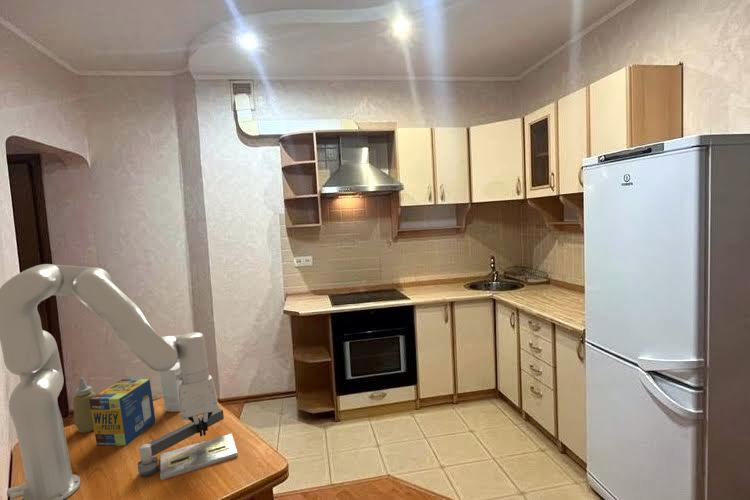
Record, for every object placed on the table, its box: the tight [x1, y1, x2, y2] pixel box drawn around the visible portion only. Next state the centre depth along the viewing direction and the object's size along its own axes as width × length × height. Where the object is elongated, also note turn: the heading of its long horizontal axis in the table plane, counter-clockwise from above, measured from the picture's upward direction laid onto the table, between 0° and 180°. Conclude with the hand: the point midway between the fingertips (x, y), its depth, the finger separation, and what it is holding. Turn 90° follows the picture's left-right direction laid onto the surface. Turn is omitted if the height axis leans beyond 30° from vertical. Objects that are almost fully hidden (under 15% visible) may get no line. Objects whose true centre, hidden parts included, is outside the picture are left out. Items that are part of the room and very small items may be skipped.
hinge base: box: [137, 456, 160, 479], centre depth 123 cm, size 5×5×3 cm
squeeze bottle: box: [72, 377, 97, 434], centre depth 150 cm, size 8×8×18 cm
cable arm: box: [138, 408, 225, 465], centre depth 132 cm, size 26×3×4 cm, turn 144°
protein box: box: [89, 378, 156, 447], centre depth 145 cm, size 10×15×16 cm
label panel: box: [159, 433, 239, 481], centre depth 129 cm, size 20×12×2 cm, turn 115°
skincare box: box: [159, 361, 182, 413], centre depth 162 cm, size 8×7×16 cm
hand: (202, 433), depth 133 cm, fingers closed
